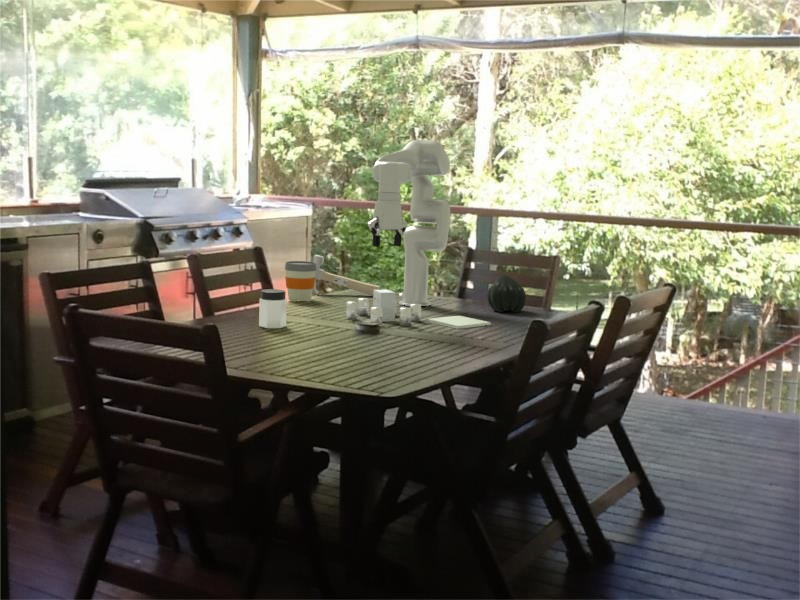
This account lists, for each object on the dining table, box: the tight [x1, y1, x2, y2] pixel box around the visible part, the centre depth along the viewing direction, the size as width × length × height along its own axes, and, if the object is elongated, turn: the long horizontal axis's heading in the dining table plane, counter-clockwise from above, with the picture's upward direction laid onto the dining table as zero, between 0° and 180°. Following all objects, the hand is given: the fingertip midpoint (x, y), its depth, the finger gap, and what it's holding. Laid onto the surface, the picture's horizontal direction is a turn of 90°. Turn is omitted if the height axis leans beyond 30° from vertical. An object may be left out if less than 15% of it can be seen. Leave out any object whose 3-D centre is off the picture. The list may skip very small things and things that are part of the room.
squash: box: [486, 274, 527, 313], centre depth 356 cm, size 14×15×15 cm
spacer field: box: [345, 297, 422, 327], centre depth 324 cm, size 28×22×6 cm
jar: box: [258, 288, 287, 329], centre depth 302 cm, size 9×8×12 cm
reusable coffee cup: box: [284, 260, 316, 302], centre depth 361 cm, size 12×13×15 cm
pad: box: [426, 315, 491, 330], centre depth 323 cm, size 16×16×1 cm
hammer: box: [312, 254, 380, 297], centre depth 381 cm, size 16×5×30 cm
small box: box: [372, 289, 396, 323], centre depth 323 cm, size 8×6×10 cm
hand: (386, 246), depth 320 cm, fingers open, 9 cm apart
